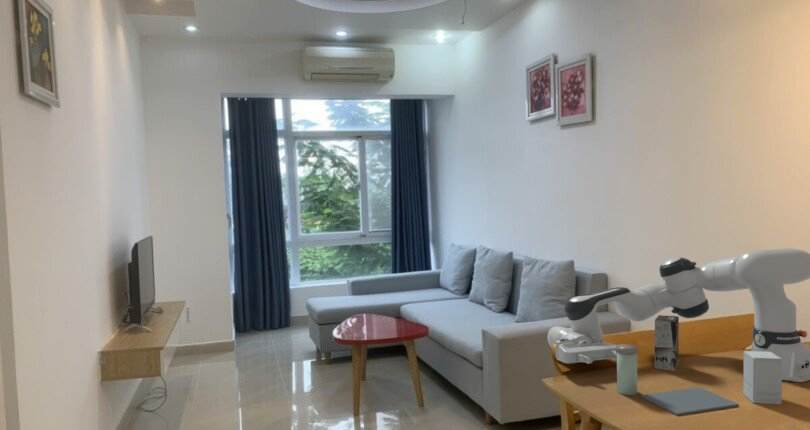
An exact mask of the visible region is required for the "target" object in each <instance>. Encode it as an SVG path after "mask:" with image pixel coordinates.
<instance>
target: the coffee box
mask: <svg viewBox="0 0 810 430" xmlns="http://www.w3.org/2000/svg"><path fill="white" fill-rule="evenodd" d="M679 321H680V320H679V315H661V314H659V315H657V317H656V318H655V319H654V369H657V370H665V371H671V372H675V371H676V370H677V367H678V366H679V362H680V361H679V359H680V358H679V356H680V354H679V352H680V349H679V341H680V339H679V335H680V332H679V328H680V327H679V326H680V325H679V323H680V322H679Z"/></svg>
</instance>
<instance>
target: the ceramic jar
mask: <svg viewBox="0 0 810 430" xmlns="http://www.w3.org/2000/svg"><path fill="white" fill-rule="evenodd" d="M616 345H617V346H616V351H617V360H616V392H617V393H618V394H621V395H626V396H636V395H637V394H638V353H639V347H638V346H636V345H633V344H625V343H621V344H616Z"/></svg>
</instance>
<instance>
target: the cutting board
mask: <svg viewBox="0 0 810 430" xmlns="http://www.w3.org/2000/svg"><path fill="white" fill-rule="evenodd" d="M640 396H641V399H644V400H646V401H648V402H649V403H652V404H654V405H656V406H658V407H659V408H662V409H663V410H665V411H667V412H669V413H671V414H673V415H675V416H683V415H688V414H689V415H690V414H695V413H697V414H698V413H702V412H709V411H715V410H717V411H718V410H722V409H730V408H735V407H739V406H740V404H739V403H738V402H735V401H733V400H730V399H728V398H726V397H724V396H721V395H719V394H716V393H715V392H712V391H710V390H707V389H705V388H703V387H700V386H698V387H690V388H684V389H678V390H677V389H676V390H670V391H662V392H655V393H654V392H653V393H648V394H641V395H640Z"/></svg>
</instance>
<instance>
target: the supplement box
mask: <svg viewBox="0 0 810 430" xmlns="http://www.w3.org/2000/svg"><path fill="white" fill-rule="evenodd" d="M782 383H783V380H782V359H781V358H780V357H778V356H777V355H775V354H774V353H772V352H764V351H751V350H750V351H749V350H743V396H745V397H746V398H747V399H749V401H750V402H751V403H752V404H765V405H782V404H783V402H782V399H783V398H782V395H783V393H782V390H783V388H782V386H783V385H782Z"/></svg>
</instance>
